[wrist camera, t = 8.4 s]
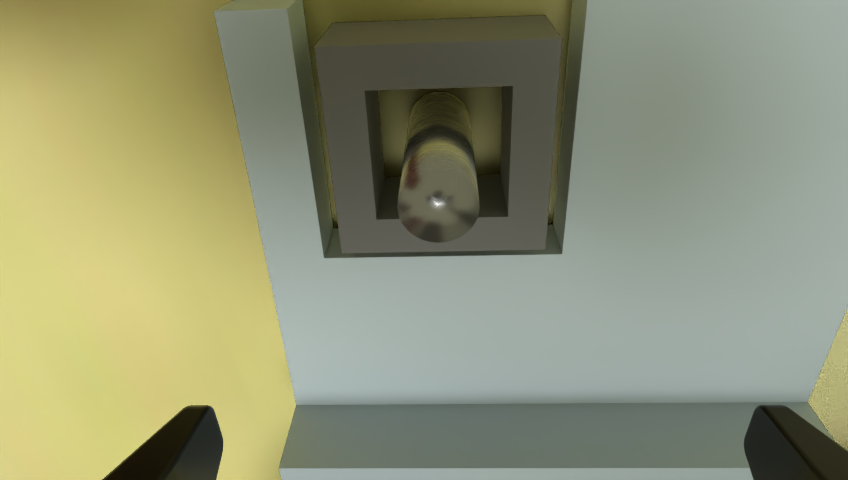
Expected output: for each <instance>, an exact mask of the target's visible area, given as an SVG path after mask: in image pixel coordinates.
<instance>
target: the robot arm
mask: <svg viewBox="0 0 848 480" xmlns="http://www.w3.org/2000/svg"><path fill="white" fill-rule="evenodd" d="M222 451H223V438H222V434H221V431H220V427H219V424H218V421H217V418H216V415H215V412H214V409H213V408H212V407H211V406H208V405H190V406H187V407H185V408H183V409H182V410H181V411H180V412H179V413H178V414H176V415H175V416H174V417H173V418H172V419H171V420H170V421H168V422H167V423H166V424H165V425H164V426H163V427H162V428H161V429H159V430H158V431H157V432H156V433H155V434H154V435H153V436H151V437H150V438H149V439H148V440H147V441H146V442H145V443H143V444H142V445H141V446H140V447H139V448H138V449H137V450H135V451H134V452H133V453H132V454H131V455H130V456H129V457H127V458H126V459H125V460H124V461H123V462H122V463H121V464H120V465H118V466H117V467H116V468H115V469H114V470H113V471H112V472H110V473H109V474H108V475H107V476H106V477H105V478H104V479H102V480H216V478H217V473H218V469H219V465H220V460H221V456H222ZM744 451H745V455H746V458H747V461H748V464H749V468H750V471H751V474H752V477H753V480H848V451H847V450H846V449H845V448H843V447H842V446H841V445H839V444H838V443H837V442H835V441H834V440H832V439H831V438H830V437H828V436H827V435H826V434H824V433H823V432H822V431H820V430H819V429H818V428H816V427H815V426H813V425H812V424H811V423H809V422H808V421H807V420H805V419H804V418H803V417H801V416H800V415H798V414H797V413H796V412H794V411H793V410H792V409H790V408H789V407H787V406H785V405H758V406H757V407H756V408H755V410H754V412H753V415H752V417H751V420H750V423H749V426H748V429H747V431H746V434H745V437H744Z"/></svg>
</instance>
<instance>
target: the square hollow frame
mask: <svg viewBox="0 0 848 480" xmlns="http://www.w3.org/2000/svg"><path fill="white" fill-rule="evenodd" d="M561 45H562V37H561V36H560V35H559V33H558V32H557V31H556V29H555V28H554V27H553V25H552V24H551V23H550V21H549V20H548V19H547V17H546V16H545V15H536V16H509V17H481V18H453V19H426V20H398V21H370V22H343V23H332V24H331V26H330V27H329V28H328V30H327V31H326V32H325V33H324V35H323V36H322V37H321V39H320V40H319V41H318V43H317V44H316V45H315V47H314V48H315V55H316V63H317V71H318V78H319V86H320V93H321V101H322V108H323V116H324V123H325V131H326V138H327V146H328V153H329V161H330V168H331V176H332V183H333V191H334V199H335V206H336V214H337V221H338V229H339V236H340V244H341V251H342V253H392V252H445V251H498V250H545V249H546V236H547V223H548V210H549V198H550V185H551V172H552V160H553V147H554V134H555V122H556V109H557V96H558V83H559V71H560V58H561ZM499 86H503V87H502V121H501V155H500V175H476V177H477V186H478V195H479V205H480V208H479V214H478V218H477V220H476V222H475V224H474V225H473V227H472V228H471V229H470V230H469V231H468V232H467V233H466V234H464V235H463V236H461V237H460V238H458V239H455V240H452V241H449V242H442V243H435V242H428V241H425V240H422V239H419V238H418V237H416V236H414V235H413V234H411V233H410V232H409V231H408V230H407V229H406V228H405V227H404V225H403V224H402V222H401V220H400V218H399V215H398V209H397V203H398V196H399V189H400V182H401V177H385V175H384V163H383V151H382V139H381V126H380V114H379V102H378V90H402V89H434V88H466V87H499Z"/></svg>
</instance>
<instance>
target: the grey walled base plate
mask: <svg viewBox="0 0 848 480" xmlns="http://www.w3.org/2000/svg"><path fill="white" fill-rule="evenodd" d="M214 16H215V20H216V25H217V30H218V35H219V39H220V44H221V49H222V54H223V58H224V63H225V68H226V73H227V77H228V82H229V87H230V92H231V96H232V101H233V106H234V111H235V115H236V120H237V125H238V130H239V135H240V139H241V144H242V149H243V154H244V158H245V163H246V168H247V173H248V177H249V182H250V187H251V192H252V196H253V201H254V206H255V211H256V215H257V220H258V225H259V230H260V234H261V239H262V244H263V249H264V253H265V258H266V263H267V268H268V272H269V277H270V282H271V287H272V292H273V296H274V301H275V306H276V311H277V315H278V320H279V325H280V330H281V334H282V339H283V344H284V349H285V353H286V358H287V363H288V368H289V372H290V377H291V382H292V387H293V391H294V396H295V401H296V408H295V412H294V415H293V419H292V423H291V426H290V430H289V433H288V437H287V440H286V444H285V448H284V451H283V455H282V458H281V462H280V466H279V472H280V476H281V480H753V477H752V474H751V471H750V468H749V464H748V461H747V458H746V455H745V451H744V437H745V434H746V431H747V429H748V426H749V423H750V420H751V417H752V415H753V412H754V410H755V408H756V407H757V406H758V405H785V406H787V407H789V408H790V409H792V410H793V411H794V412H796V413H797V414H798V415H800V416H801V417H803V418H804V419H805V420H807V421H808V422H809V423H811V424H812V425H813V426H815V427H816V428H818V429H819V430H820V431H822V432H823V433H824V434H826V435H827V436H828V437H830V438H831V439H832V440H834V439H833V438H832V436H831V435H830V433H829V432H828V431H827V429H826V428H825V426H824V425H823V423H822V422H821V421H820V419H819V418H818V416H817V415H816V413H815V412H814V411H813V409H812V408H811V406H810V405H809V403H808V400H809V398H810V395H811V393H812V391H813V388H814V386H815V383H816V381H817V379H818V376H819V374H820V372H821V369H822V367H823V364H824V362H825V360H826V357H827V355H828V352H829V350H830V348H831V345H832V343H833V341H834V338H835V336H836V333H837V331H838V329H839V326H840V324H841V322H842V319H843V317H844V314H845V312H846V310H847V307H848V0H572V9H571V21H570V32H569V44H568V55H567V67H566V78H565V90H564V101H563V112H562V124H561V135H560V147H559V158H558V170H557V181H556V193H555V204H554V216H553V224H547V236H546V249H545V250H498V251H445V252H392V253H342V251H341V244H340V236H339V229H338V228H333V222H332V215H331V208H330V200H329V193H328V185H327V178H326V171H325V163H324V156H323V148H322V141H321V134H320V126H319V119H318V111H317V104H316V97H315V89H314V82H313V74H312V67H311V60H310V52H309V45H308V37H307V30H306V23H305V15H304V8H303V0H232V1H231V2H229V3H227V4H225V5H224V6H222V7H220V8H218V9H217V10H215V11H214Z"/></svg>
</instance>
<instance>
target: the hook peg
mask: <svg viewBox="0 0 848 480" xmlns="http://www.w3.org/2000/svg"><path fill="white" fill-rule="evenodd" d="M479 208H480V205H479V195H478V186H477V177H476V168H475V159H474V150H473V141H472V133H471V124H470V116H469V112H468V109H467V107H466V105H465V104H464V103H463V102H462V100H461V99H459V98H458V97H457V96H455V95H453V94H451V93H447V92H432V93H429V94H426V95H425V96H423V97H421V98H420V99H419V100H418V101H417V102H416V103H415V104H414V106H413V108H412V110H411V113H410V118H409V125H408V132H407V139H406V146H405V153H404V160H403V167H402V175H401V182H400V189H399V196H398V203H397V209H398V215H399V218H400V220H401V222H402V224H403V225H404V227H405V228H406V229H407V230H408V231H409V232H410V233H411V234H413V235H414V236H416V237H418V238H419V239H422V240H425V241H428V242H435V243H442V242H449V241H452V240H455V239H458V238H460V237H461V236H463V235H464V234H466V233H467V232H468V231H469V230H470V229H471V228H472V227H473V225H474V224H475V222H476V220H477V218H478V214H479Z"/></svg>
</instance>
